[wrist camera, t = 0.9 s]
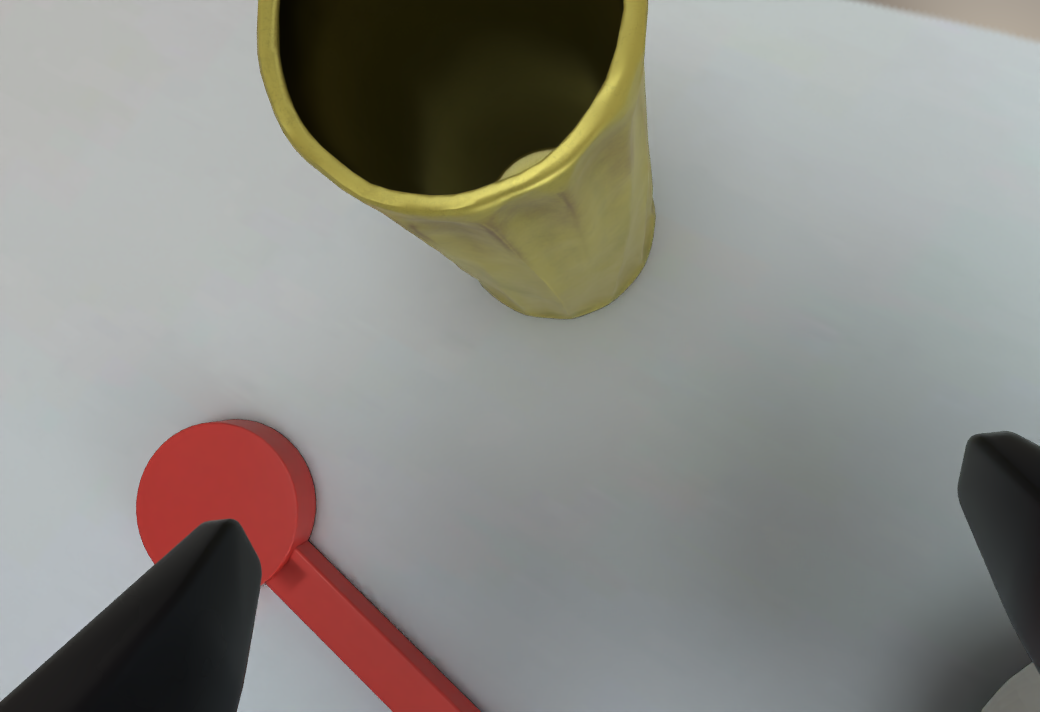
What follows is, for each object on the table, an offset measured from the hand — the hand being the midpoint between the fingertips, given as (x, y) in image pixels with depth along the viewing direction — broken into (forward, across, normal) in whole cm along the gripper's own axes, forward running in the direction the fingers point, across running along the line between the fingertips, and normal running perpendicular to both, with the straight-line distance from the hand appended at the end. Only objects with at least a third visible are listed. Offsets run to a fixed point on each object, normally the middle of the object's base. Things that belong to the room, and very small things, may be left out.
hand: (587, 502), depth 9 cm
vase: (+15, 0, +3) cm, 16 cm away
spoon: (+8, +8, +13) cm, 18 cm away
